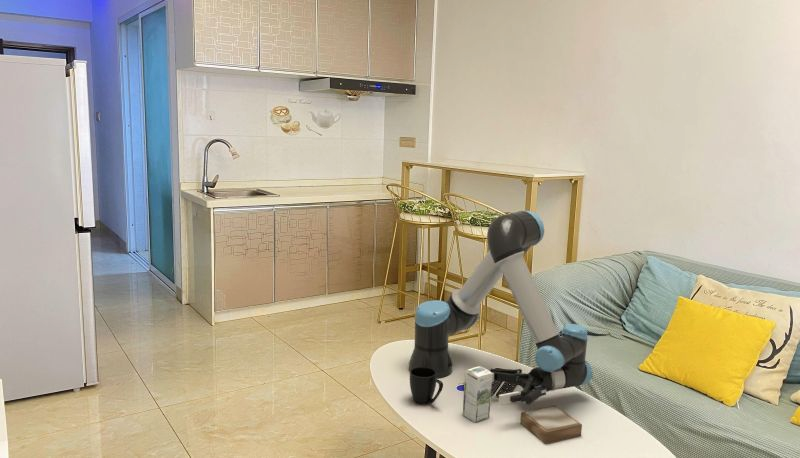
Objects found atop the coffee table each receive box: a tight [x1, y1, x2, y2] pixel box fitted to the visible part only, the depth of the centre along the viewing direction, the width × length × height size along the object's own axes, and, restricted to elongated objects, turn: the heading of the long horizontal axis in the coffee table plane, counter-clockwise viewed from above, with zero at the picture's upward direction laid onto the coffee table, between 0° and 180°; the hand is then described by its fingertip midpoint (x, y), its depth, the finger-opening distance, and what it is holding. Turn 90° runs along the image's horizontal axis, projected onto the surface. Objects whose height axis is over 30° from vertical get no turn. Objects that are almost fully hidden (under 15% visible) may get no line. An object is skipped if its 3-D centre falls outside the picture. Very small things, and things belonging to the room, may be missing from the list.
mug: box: [409, 367, 444, 406], centre depth 185 cm, size 8×12×10 cm
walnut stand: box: [519, 405, 583, 445], centre depth 171 cm, size 12×12×4 cm
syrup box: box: [462, 365, 493, 423], centre depth 177 cm, size 6×6×14 cm
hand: (486, 389), depth 177 cm, fingers open, 13 cm apart
